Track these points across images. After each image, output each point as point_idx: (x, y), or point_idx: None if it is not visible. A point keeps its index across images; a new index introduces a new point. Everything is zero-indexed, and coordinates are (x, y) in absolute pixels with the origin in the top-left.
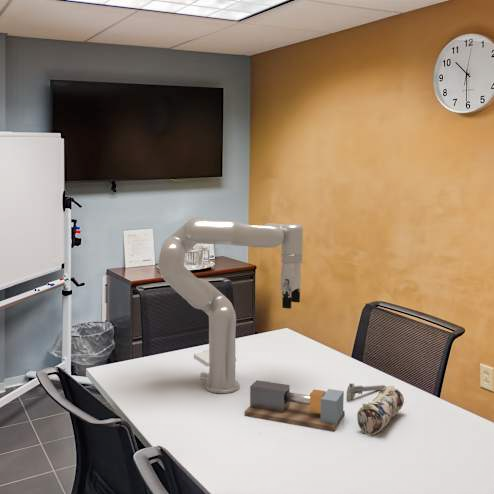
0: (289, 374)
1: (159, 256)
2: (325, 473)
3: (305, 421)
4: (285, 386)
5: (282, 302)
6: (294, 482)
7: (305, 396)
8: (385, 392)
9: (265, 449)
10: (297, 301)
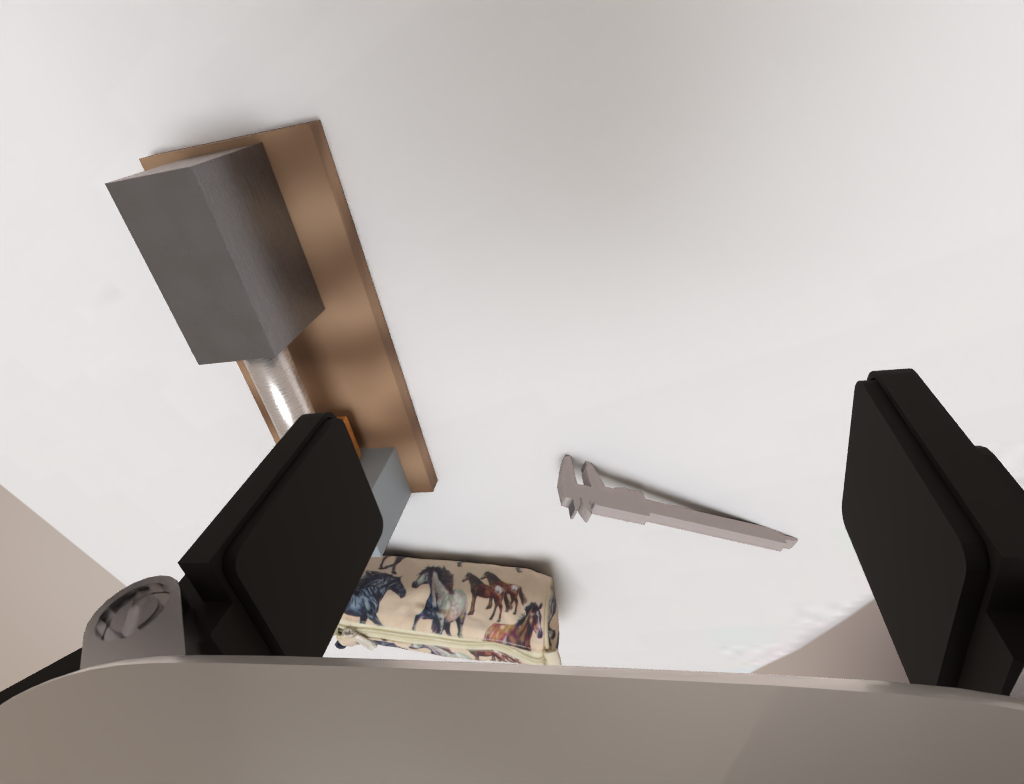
0: (803, 44)
1: None
2: (115, 525)
3: (263, 412)
4: (246, 347)
5: (258, 470)
6: (27, 483)
7: (278, 430)
8: (502, 646)
9: (58, 361)
10: (847, 503)
